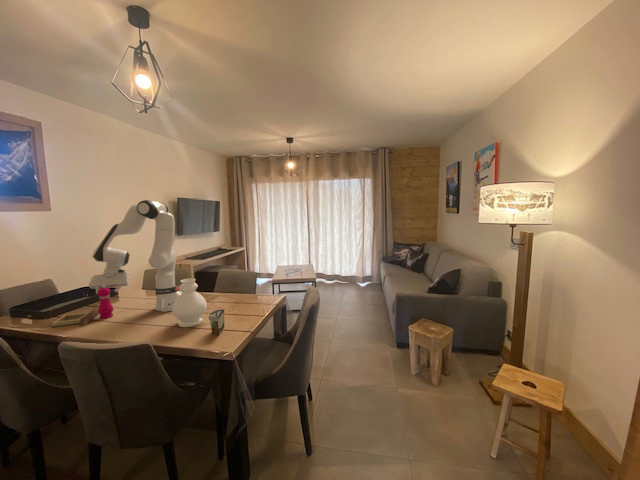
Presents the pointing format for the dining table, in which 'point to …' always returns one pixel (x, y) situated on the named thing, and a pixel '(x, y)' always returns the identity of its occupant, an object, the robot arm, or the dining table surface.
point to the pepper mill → (105, 303)
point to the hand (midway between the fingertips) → (106, 292)
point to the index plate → (68, 320)
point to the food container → (217, 321)
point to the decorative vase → (189, 304)
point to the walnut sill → (89, 316)
